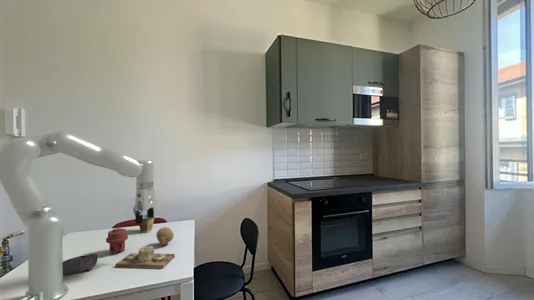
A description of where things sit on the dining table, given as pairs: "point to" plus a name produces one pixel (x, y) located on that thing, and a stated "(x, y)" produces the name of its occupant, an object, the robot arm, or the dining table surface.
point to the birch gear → (146, 254)
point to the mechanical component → (117, 240)
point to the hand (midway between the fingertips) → (145, 220)
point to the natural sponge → (164, 235)
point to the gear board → (157, 262)
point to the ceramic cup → (146, 224)
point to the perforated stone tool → (79, 264)
